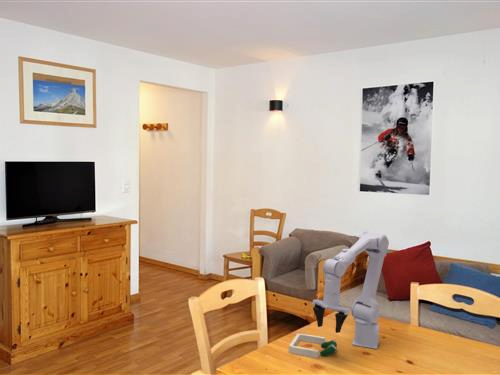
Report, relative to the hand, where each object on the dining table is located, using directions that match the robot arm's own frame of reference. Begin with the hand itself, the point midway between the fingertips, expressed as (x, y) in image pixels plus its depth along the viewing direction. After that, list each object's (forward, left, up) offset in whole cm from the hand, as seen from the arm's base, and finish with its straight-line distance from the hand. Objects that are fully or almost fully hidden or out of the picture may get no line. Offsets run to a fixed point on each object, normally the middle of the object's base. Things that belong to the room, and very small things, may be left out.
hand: (328, 329), depth 165 cm
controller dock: (+8, -5, -11) cm, 14 cm away
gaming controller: (+1, -5, -11) cm, 12 cm away
